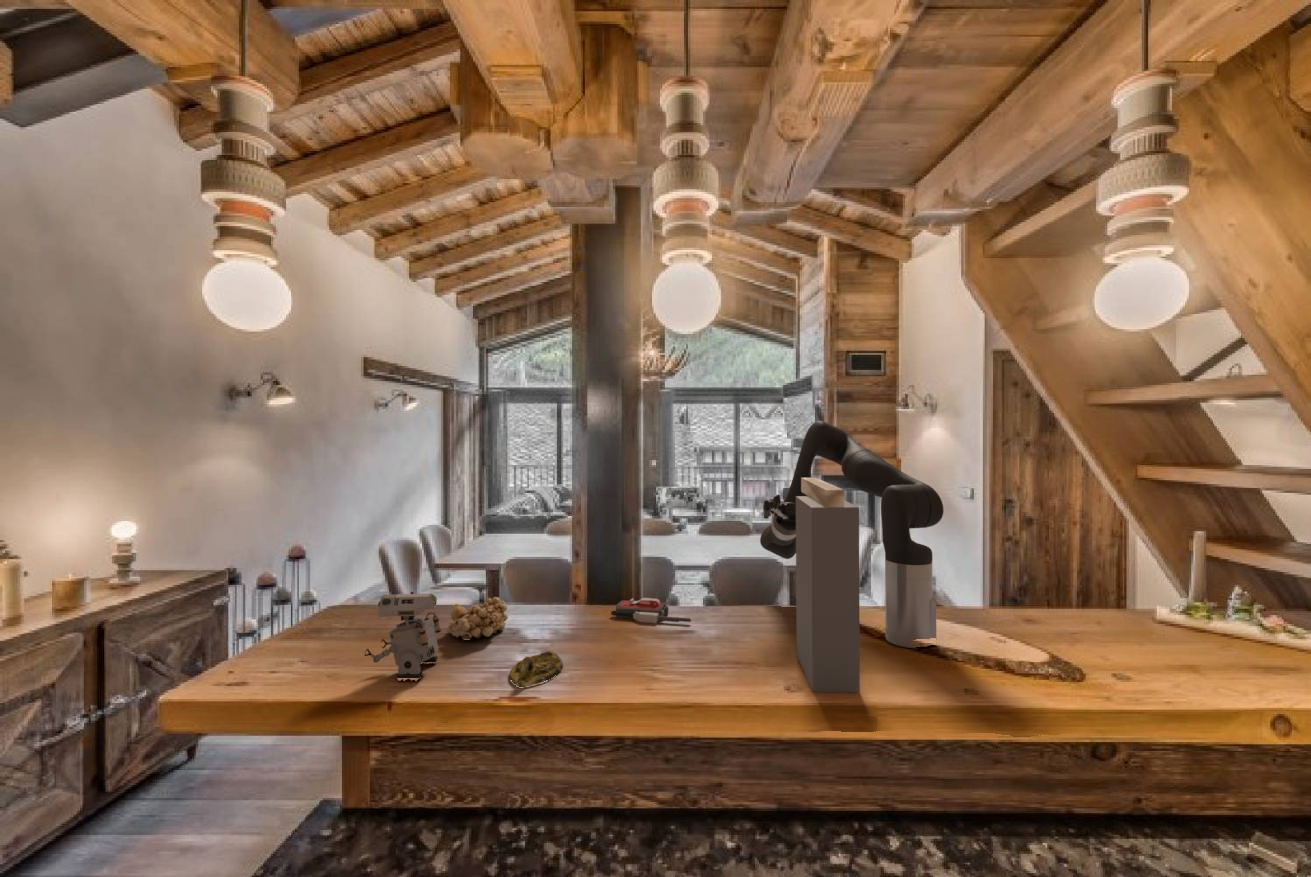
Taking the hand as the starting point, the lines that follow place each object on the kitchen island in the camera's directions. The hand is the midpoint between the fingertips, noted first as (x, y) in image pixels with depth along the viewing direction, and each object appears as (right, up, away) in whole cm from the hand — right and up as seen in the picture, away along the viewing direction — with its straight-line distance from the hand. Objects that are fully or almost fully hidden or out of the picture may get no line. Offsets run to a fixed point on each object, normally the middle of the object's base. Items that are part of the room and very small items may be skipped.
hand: (797, 498), depth 138 cm
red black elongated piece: (-34, -30, +5) cm, 45 cm away
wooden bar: (-2, +2, -25) cm, 25 cm away
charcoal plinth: (-1, -30, -28) cm, 41 cm away
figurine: (-80, -31, -26) cm, 90 cm away
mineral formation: (-73, -30, -8) cm, 80 cm away
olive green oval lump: (-56, -31, -26) cm, 69 cm away
